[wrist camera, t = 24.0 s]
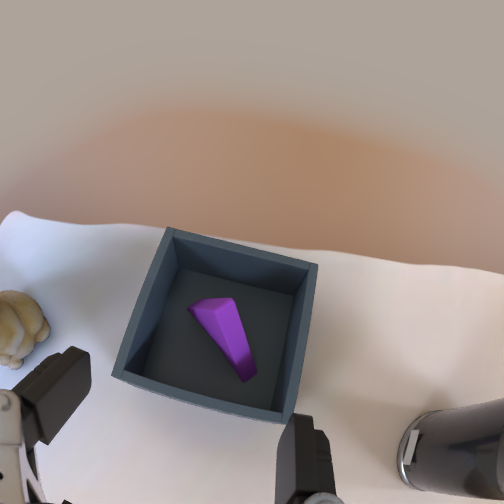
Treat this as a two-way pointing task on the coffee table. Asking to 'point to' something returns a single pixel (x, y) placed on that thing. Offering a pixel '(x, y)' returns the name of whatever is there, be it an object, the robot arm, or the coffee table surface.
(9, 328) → the figurine
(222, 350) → the arrowhead
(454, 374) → the coffee table surface
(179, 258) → the bin
